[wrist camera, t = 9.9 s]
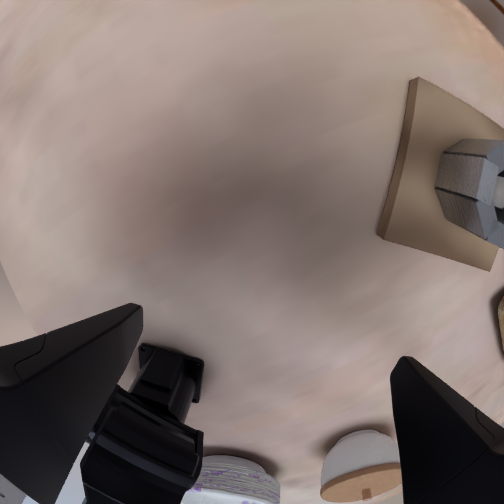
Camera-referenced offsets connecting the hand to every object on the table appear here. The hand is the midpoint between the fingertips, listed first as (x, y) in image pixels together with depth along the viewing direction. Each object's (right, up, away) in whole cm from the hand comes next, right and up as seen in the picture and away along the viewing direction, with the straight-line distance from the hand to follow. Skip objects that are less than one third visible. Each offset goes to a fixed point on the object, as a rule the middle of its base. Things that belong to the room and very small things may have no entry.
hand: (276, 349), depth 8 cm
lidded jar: (+13, -21, +20) cm, 32 cm away
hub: (+15, +8, +7) cm, 18 cm away
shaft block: (+15, +9, +8) cm, 19 cm away
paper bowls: (-4, -29, +24) cm, 38 cm away
